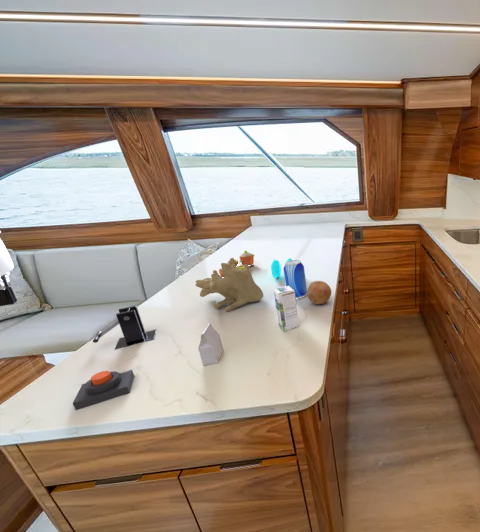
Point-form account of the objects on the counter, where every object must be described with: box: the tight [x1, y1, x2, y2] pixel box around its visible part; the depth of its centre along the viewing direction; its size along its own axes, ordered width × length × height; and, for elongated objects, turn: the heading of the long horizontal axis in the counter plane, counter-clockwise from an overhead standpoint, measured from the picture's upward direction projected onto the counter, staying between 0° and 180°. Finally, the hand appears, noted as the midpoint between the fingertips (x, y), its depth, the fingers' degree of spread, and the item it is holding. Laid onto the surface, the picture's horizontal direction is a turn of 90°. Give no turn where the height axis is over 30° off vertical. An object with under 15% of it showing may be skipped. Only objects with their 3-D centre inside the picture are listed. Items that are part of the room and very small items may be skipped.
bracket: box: [114, 305, 157, 350], centre depth 98 cm, size 10×8×12 cm
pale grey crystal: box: [198, 323, 224, 367], centre depth 89 cm, size 4×7×10 cm, turn 15°
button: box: [90, 370, 112, 385], centre depth 76 cm, size 4×4×2 cm
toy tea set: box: [217, 250, 255, 277], centre depth 166 cm, size 26×16×10 cm, turn 15°
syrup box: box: [272, 285, 300, 332], centre depth 105 cm, size 6×6×14 cm
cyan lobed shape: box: [270, 257, 293, 279], centre depth 155 cm, size 10×10×10 cm
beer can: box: [283, 259, 308, 298], centre depth 130 cm, size 8×8×16 cm
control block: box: [72, 369, 135, 411], centre depth 77 cm, size 10×8×4 cm
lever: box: [92, 308, 131, 344], centre depth 96 cm, size 12×6×2 cm, turn 125°
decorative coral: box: [195, 257, 264, 313], centre depth 124 cm, size 26×22×25 cm
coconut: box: [306, 280, 332, 305], centre depth 124 cm, size 10×10×10 cm
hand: (6, 304), depth 71 cm, fingers closed
